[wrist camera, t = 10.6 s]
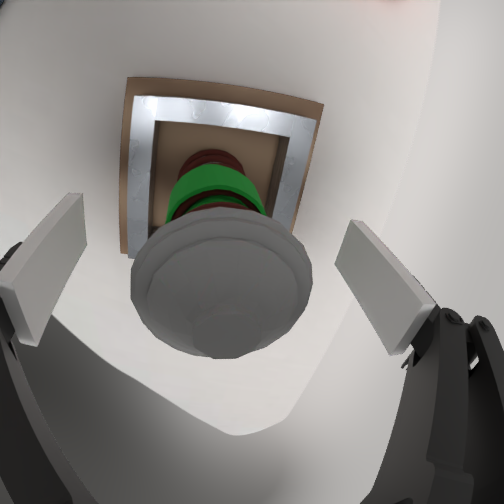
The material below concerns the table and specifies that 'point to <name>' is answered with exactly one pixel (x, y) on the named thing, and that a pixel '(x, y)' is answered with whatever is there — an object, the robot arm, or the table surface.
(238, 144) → the plate
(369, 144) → the table surface
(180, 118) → the socket collar
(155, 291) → the shock absorber
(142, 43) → the table surface
